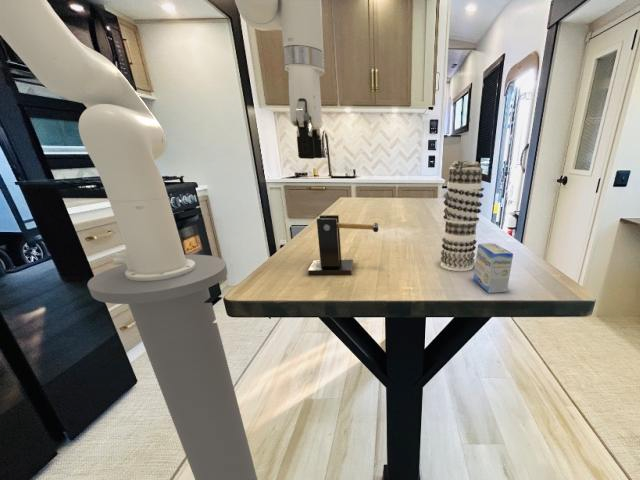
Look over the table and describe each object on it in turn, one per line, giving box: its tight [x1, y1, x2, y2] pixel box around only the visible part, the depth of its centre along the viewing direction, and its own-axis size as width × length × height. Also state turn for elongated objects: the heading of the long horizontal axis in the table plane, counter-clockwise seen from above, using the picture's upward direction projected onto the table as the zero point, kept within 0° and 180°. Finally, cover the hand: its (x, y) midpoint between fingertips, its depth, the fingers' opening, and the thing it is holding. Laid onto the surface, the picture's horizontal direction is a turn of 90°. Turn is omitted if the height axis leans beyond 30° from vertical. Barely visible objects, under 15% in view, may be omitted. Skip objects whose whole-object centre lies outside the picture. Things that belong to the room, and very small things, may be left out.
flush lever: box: [337, 222, 379, 233], centre depth 75 cm, size 13×5×2 cm, turn 94°
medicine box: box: [472, 242, 514, 294], centre depth 69 cm, size 8×4×9 cm, turn 12°
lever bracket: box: [307, 214, 354, 276], centre depth 77 cm, size 10×8×13 cm
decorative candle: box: [440, 160, 485, 272], centre depth 78 cm, size 9×9×25 cm
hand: (311, 158), depth 70 cm, fingers open, 9 cm apart
